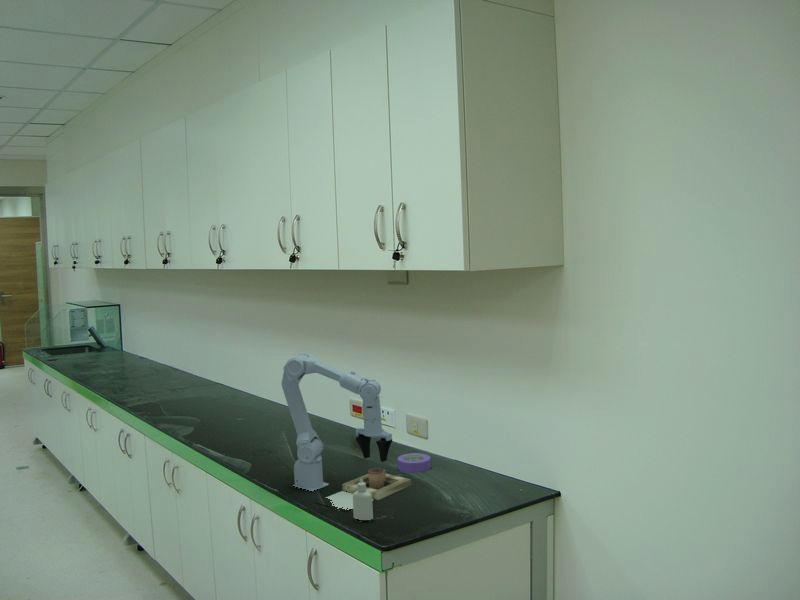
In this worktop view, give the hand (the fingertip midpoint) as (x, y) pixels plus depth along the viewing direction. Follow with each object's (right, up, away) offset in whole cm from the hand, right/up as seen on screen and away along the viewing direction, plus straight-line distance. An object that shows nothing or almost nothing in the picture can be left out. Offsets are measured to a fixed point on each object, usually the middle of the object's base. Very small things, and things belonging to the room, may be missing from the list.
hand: (375, 459), depth 228 cm
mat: (-9, -11, -11) cm, 18 cm away
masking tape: (+13, -8, +20) cm, 25 cm away
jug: (0, -10, +1) cm, 10 cm away
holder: (0, -10, +1) cm, 10 cm away
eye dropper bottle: (-3, -12, -26) cm, 28 cm away
